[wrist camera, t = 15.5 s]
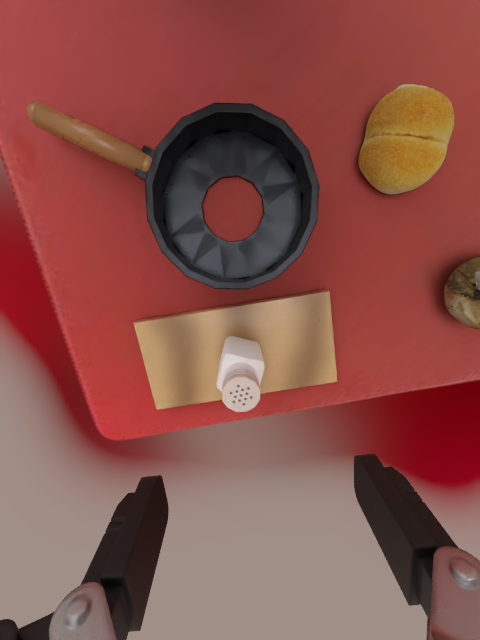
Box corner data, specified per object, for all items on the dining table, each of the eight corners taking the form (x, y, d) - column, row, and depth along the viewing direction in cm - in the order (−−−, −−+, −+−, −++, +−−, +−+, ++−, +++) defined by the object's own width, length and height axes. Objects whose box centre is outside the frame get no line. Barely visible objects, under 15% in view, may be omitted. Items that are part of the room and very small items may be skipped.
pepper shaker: (218, 365, 31) (211, 411, 22) (226, 333, 31) (222, 367, 21) (252, 372, 32) (258, 421, 22) (260, 341, 31) (271, 378, 22)
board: (159, 403, 34) (156, 409, 33) (138, 320, 32) (133, 323, 30) (333, 376, 34) (337, 381, 32) (325, 289, 31) (329, 291, 30)
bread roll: (347, 189, 29) (365, 178, 25) (371, 91, 26) (394, 63, 23) (422, 203, 29) (451, 195, 25) (451, 108, 27) (488, 83, 23)
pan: (332, 168, 28) (349, 153, 24) (268, 305, 31) (273, 313, 27) (75, 38, 25) (44, -4, 21) (35, 205, 28) (1, 197, 24)
